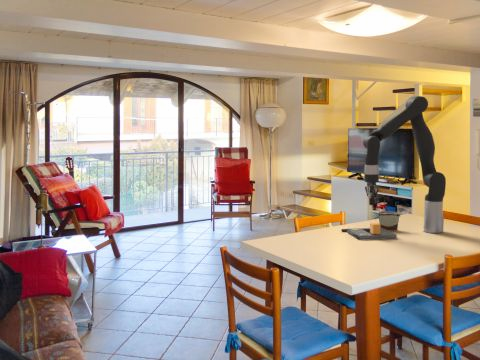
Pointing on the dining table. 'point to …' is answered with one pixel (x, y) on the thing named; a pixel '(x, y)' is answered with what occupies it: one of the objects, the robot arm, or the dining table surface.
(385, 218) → the food container
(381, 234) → the panel
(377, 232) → the lever
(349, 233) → the cord
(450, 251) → the dining table surface
